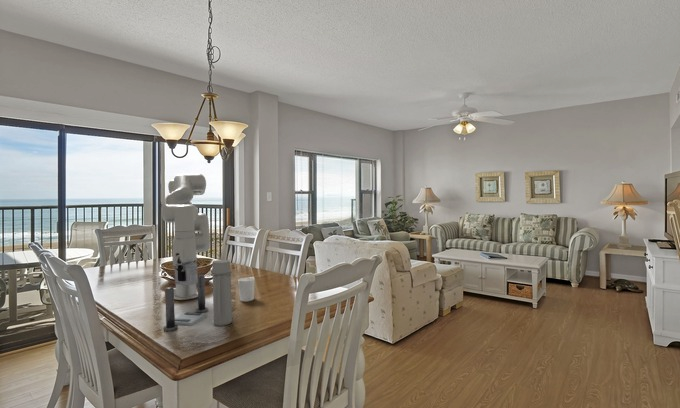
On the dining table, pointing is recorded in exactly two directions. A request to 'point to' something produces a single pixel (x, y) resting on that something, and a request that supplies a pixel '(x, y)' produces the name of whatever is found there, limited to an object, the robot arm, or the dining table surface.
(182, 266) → the robot arm
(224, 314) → the water bottle
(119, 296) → the dining table surface
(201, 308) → the post
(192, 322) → the paddle plate
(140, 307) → the dining table surface
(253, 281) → the white cup
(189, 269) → the medicine box
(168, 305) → the post
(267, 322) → the dining table surface
